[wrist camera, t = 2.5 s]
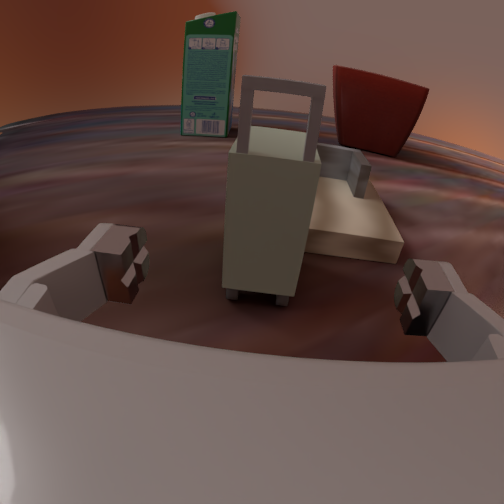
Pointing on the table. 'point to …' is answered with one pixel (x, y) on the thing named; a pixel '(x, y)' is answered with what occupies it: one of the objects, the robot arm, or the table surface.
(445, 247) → the table surface
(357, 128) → the plant pot
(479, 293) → the table surface
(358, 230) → the dock
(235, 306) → the table surface
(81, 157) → the table surface
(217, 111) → the milk carton
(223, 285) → the pale green handled box
